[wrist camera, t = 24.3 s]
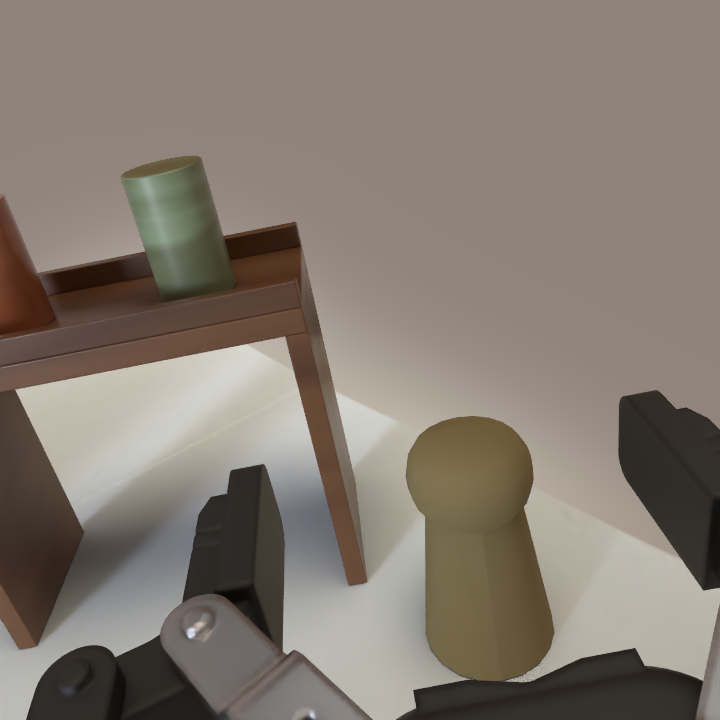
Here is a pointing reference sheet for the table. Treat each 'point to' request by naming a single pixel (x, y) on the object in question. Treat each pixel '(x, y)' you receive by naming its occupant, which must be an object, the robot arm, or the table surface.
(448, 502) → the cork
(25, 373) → the spice rack
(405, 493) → the table surface
